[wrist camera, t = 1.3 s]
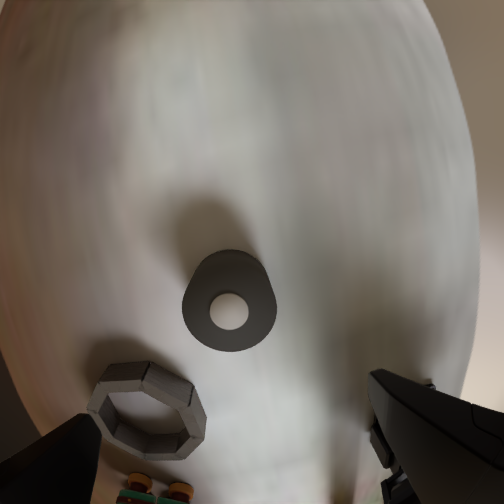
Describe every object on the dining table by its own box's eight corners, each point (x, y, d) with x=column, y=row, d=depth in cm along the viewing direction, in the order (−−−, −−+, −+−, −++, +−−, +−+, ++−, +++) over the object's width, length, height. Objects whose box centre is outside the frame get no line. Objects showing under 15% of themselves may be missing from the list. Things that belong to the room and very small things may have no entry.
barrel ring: (183, 356, 20) (177, 376, 18) (215, 438, 22) (214, 458, 19) (83, 366, 20) (71, 382, 17) (125, 441, 22) (119, 458, 19)
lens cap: (261, 242, 19) (268, 256, 15) (275, 314, 20) (284, 344, 16) (184, 258, 19) (170, 276, 15) (203, 327, 20) (195, 359, 16)
